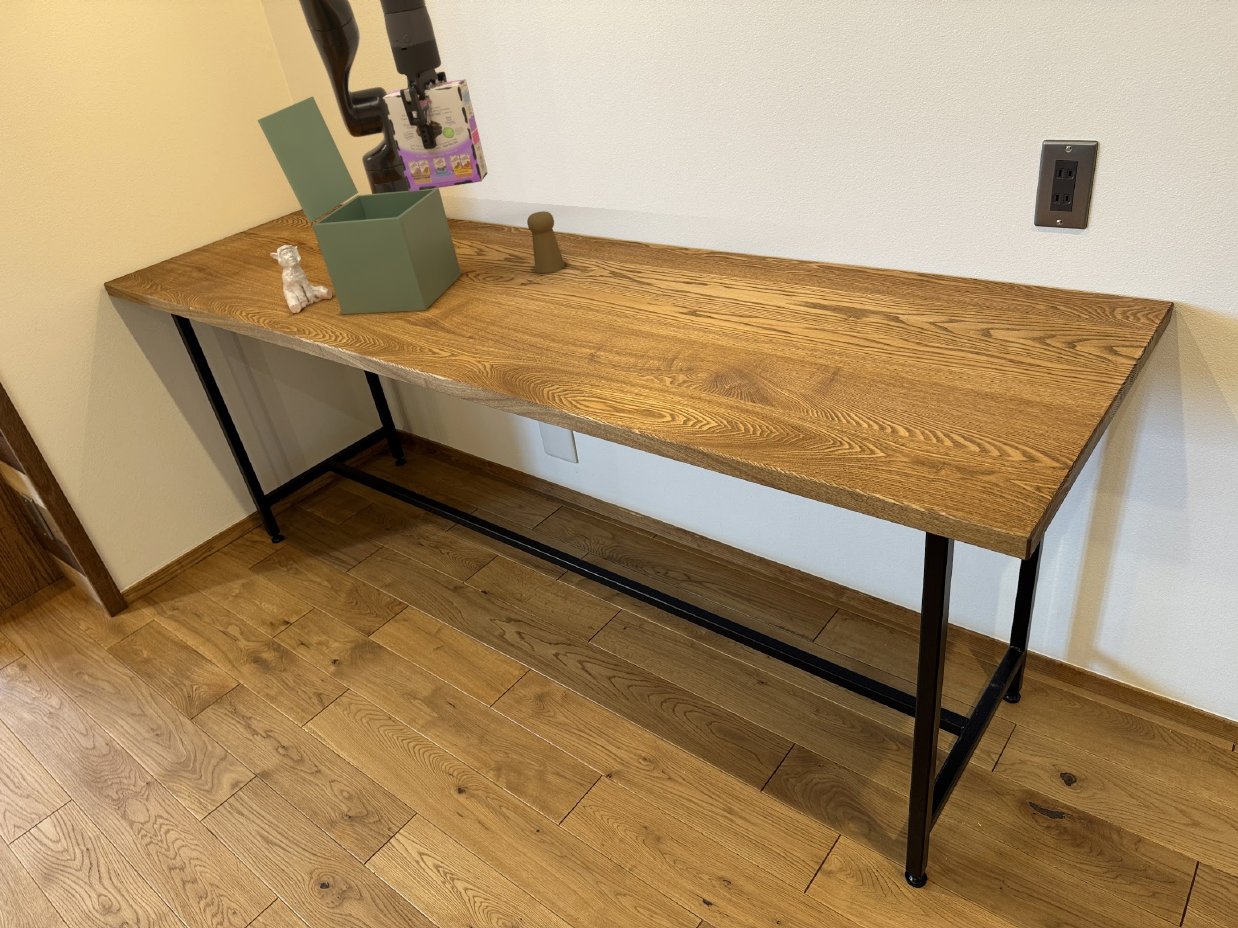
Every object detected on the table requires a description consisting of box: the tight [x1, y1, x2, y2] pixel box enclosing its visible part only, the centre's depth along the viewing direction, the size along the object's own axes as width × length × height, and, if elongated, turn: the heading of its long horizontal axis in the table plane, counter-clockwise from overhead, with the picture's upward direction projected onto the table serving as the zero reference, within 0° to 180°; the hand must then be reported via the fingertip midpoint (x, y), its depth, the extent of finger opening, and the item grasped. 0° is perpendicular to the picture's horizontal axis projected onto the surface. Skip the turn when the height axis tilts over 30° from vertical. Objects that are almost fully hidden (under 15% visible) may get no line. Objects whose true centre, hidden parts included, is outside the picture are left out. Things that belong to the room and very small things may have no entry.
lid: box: [257, 95, 359, 224], centre depth 167 cm, size 19×18×5 cm
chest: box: [311, 188, 462, 315], centre depth 173 cm, size 18×18×18 cm
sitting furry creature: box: [269, 244, 333, 314], centre depth 180 cm, size 10×9×12 cm
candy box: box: [383, 78, 489, 192], centre depth 156 cm, size 14×6×16 cm, turn 85°
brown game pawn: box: [526, 210, 565, 274], centre depth 175 cm, size 6×6×11 cm
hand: (438, 142), depth 157 cm, fingers closed on candy box, 6 cm apart
